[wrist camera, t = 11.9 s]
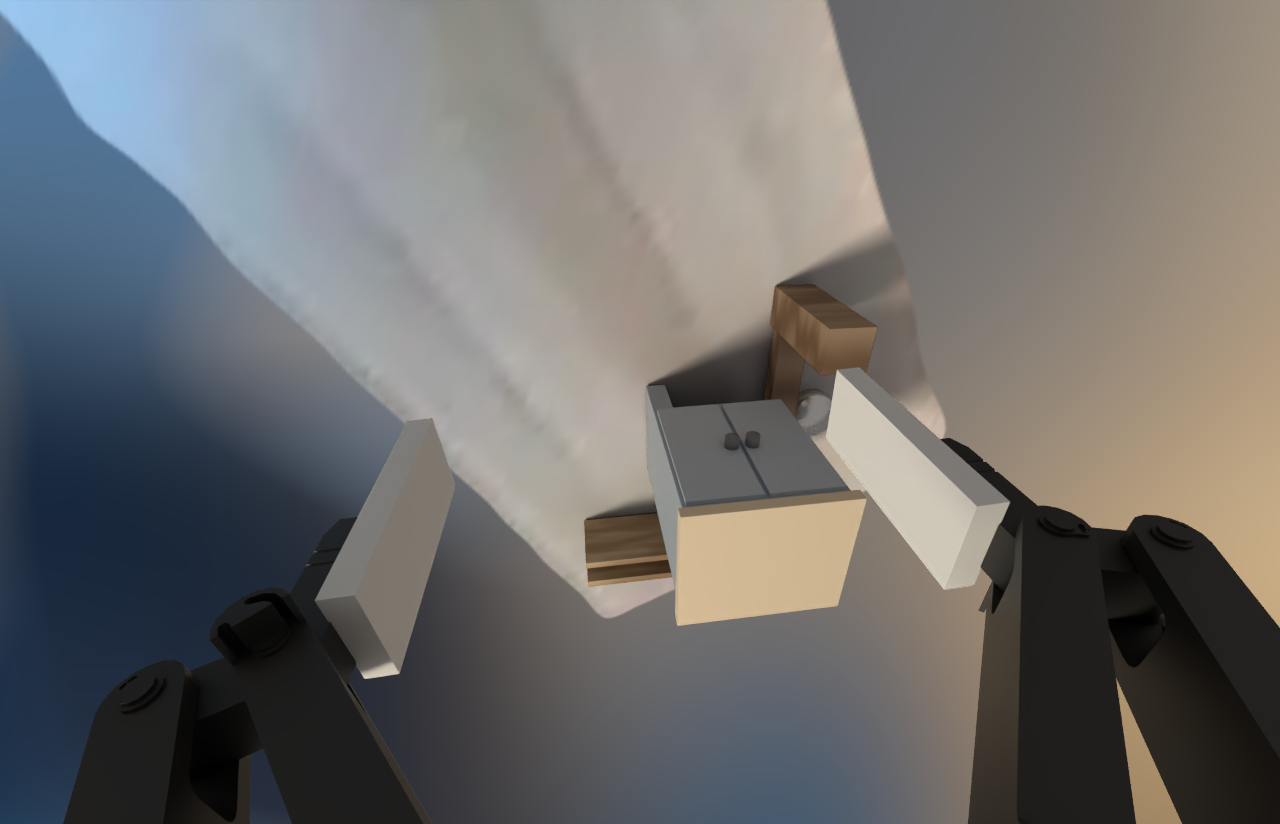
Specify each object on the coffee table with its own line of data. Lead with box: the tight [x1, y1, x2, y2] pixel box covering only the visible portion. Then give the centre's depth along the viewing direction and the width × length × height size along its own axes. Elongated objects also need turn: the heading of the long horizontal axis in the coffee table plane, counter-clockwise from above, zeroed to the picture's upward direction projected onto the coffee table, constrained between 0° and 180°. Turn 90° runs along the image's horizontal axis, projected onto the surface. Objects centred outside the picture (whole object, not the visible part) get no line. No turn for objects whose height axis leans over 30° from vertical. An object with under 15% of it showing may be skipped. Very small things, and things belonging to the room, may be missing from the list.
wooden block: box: [764, 285, 878, 416], centre depth 49 cm, size 17×4×12 cm, turn 0°
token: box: [794, 389, 832, 435], centre depth 57 cm, size 5×5×2 cm
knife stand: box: [584, 513, 672, 587], centre depth 60 cm, size 4×20×7 cm, turn 91°
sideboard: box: [646, 385, 867, 626], centre depth 47 cm, size 13×14×21 cm
